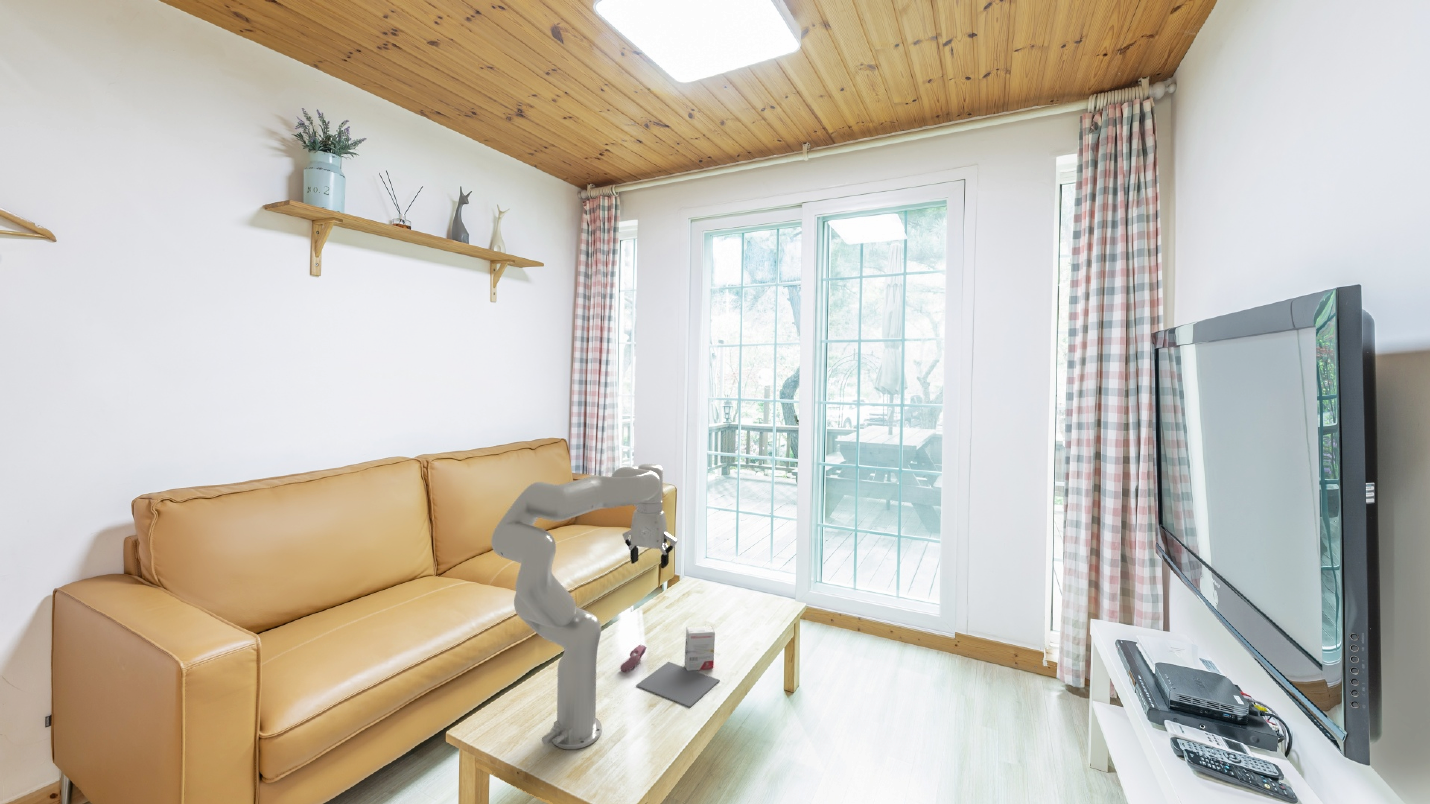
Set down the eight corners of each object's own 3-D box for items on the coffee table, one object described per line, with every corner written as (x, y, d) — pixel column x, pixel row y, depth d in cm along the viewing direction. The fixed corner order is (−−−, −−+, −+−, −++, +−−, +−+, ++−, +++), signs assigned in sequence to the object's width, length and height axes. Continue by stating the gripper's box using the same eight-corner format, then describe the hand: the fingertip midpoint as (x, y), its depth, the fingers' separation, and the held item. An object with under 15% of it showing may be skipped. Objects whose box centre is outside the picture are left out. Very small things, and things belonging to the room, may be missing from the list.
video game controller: (630, 678, 169) (641, 660, 168) (618, 670, 170) (628, 651, 169) (641, 662, 179) (651, 644, 178) (629, 654, 179) (639, 636, 178)
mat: (690, 708, 152) (690, 706, 152) (636, 686, 162) (636, 685, 162) (719, 681, 166) (719, 680, 166) (668, 662, 176) (668, 661, 176)
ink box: (710, 662, 177) (712, 625, 177) (713, 670, 172) (715, 632, 172) (683, 663, 175) (685, 626, 175) (686, 671, 170) (688, 633, 170)
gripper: (616, 507, 160) (616, 564, 161) (671, 513, 154) (670, 573, 155) (629, 501, 167) (629, 556, 168) (682, 507, 161) (681, 564, 162)
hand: (649, 564), depth 161 cm, fingers open, 9 cm apart
